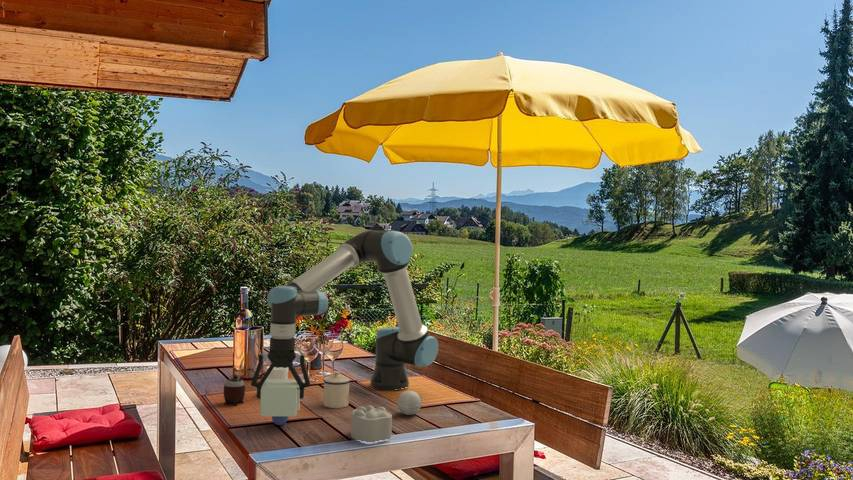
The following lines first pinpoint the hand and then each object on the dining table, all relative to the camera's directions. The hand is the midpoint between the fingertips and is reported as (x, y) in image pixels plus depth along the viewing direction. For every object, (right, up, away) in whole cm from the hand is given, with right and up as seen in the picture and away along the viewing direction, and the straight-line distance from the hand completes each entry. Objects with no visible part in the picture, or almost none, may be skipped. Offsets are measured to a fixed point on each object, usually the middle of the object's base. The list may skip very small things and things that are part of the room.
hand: (280, 409), depth 202 cm
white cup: (-10, -5, +38) cm, 40 cm away
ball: (0, -3, +2) cm, 4 cm away
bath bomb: (+39, -7, +18) cm, 43 cm away
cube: (0, -1, 0) cm, 1 cm away
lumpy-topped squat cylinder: (+28, -7, -6) cm, 29 cm away
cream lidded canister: (+13, -6, +28) cm, 31 cm away
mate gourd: (-21, -5, +25) cm, 33 cm away
